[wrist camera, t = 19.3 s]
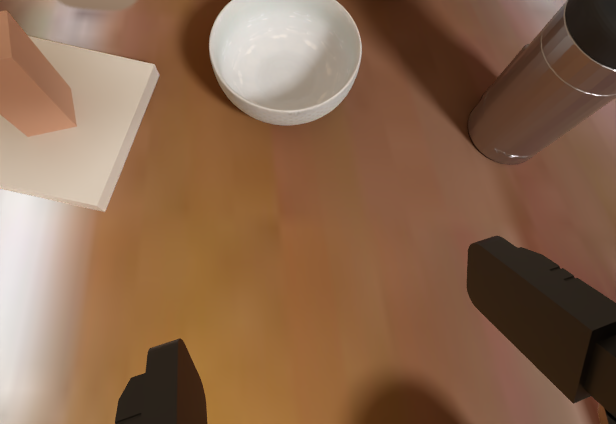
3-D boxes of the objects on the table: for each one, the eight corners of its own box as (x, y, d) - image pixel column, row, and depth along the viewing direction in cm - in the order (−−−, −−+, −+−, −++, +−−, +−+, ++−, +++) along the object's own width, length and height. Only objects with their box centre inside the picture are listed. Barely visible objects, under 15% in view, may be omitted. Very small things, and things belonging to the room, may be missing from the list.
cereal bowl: (235, 17, 51) (228, -32, 44) (358, 41, 52) (371, -3, 45) (201, 128, 46) (189, 92, 39) (340, 155, 46) (351, 124, 39)
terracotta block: (23, 97, 43) (-58, 20, 33) (70, 88, 44) (6, 10, 33) (27, 136, 42) (-56, 69, 31) (76, 126, 42) (11, 57, 32)
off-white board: (14, 42, 47) (3, 30, 45) (159, 75, 47) (154, 64, 46) (-61, 175, 42) (-77, 167, 40) (104, 212, 42) (96, 205, 40)
